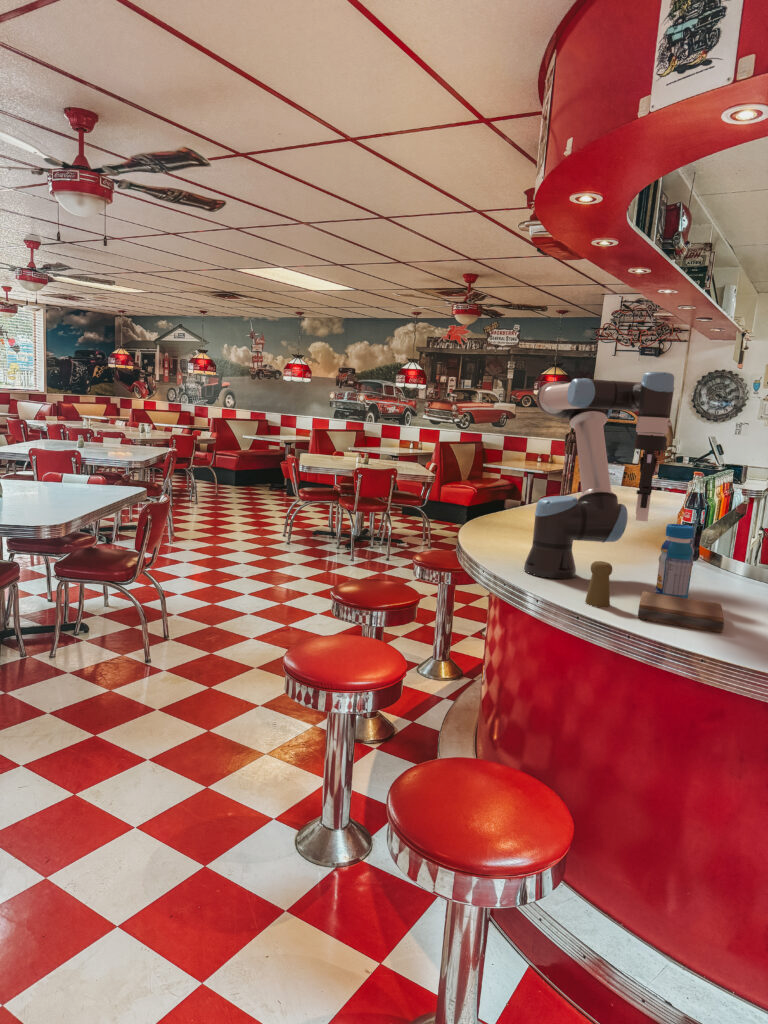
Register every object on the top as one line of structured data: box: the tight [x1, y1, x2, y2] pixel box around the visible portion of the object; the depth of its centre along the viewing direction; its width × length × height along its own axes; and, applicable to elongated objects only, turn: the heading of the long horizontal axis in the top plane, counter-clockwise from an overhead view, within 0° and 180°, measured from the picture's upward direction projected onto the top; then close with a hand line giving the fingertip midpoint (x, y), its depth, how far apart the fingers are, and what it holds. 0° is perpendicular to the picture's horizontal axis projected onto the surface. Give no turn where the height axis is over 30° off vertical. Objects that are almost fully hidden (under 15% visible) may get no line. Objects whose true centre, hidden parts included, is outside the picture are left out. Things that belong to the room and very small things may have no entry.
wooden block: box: [637, 591, 725, 634], centre depth 155 cm, size 18×15×4 cm
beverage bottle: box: [654, 523, 695, 599], centre depth 172 cm, size 8×8×20 cm
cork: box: [584, 560, 613, 608], centre depth 163 cm, size 6×6×11 cm
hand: (641, 517), depth 166 cm, fingers open, 13 cm apart
